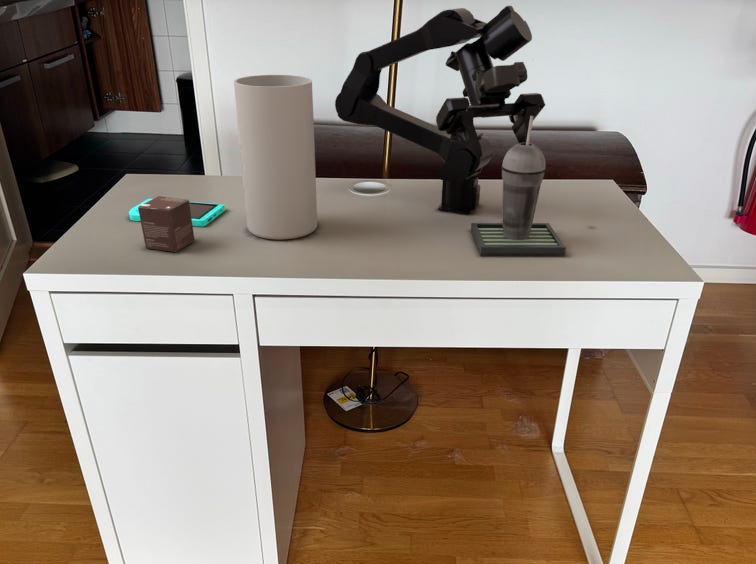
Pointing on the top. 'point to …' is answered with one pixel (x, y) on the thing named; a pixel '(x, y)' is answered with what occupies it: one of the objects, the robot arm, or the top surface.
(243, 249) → the top surface
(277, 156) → the cylinder vase
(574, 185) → the top surface
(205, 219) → the handheld game console
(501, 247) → the drying rack
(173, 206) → the box
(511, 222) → the beverage cup
